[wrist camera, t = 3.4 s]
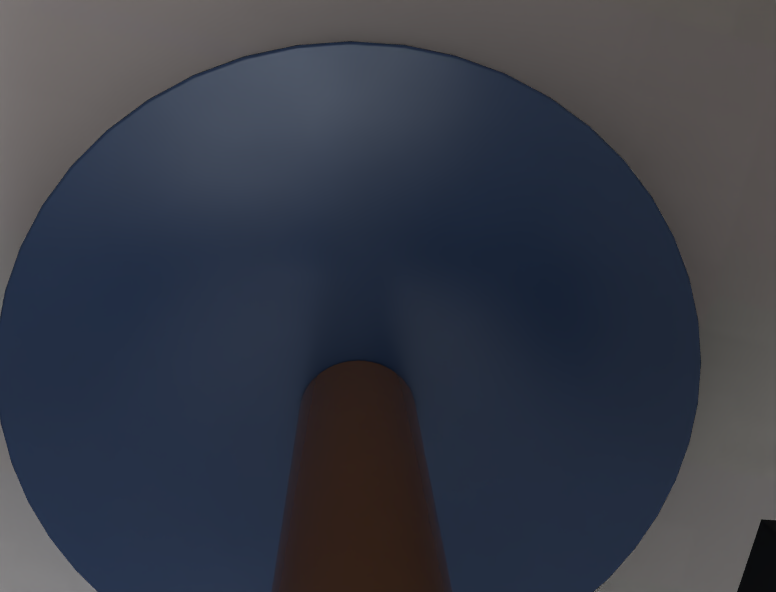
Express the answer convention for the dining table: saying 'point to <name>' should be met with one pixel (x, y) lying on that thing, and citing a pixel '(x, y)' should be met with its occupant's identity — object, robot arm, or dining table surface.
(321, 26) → the dining table surface
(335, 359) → the pot lid
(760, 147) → the dining table surface
